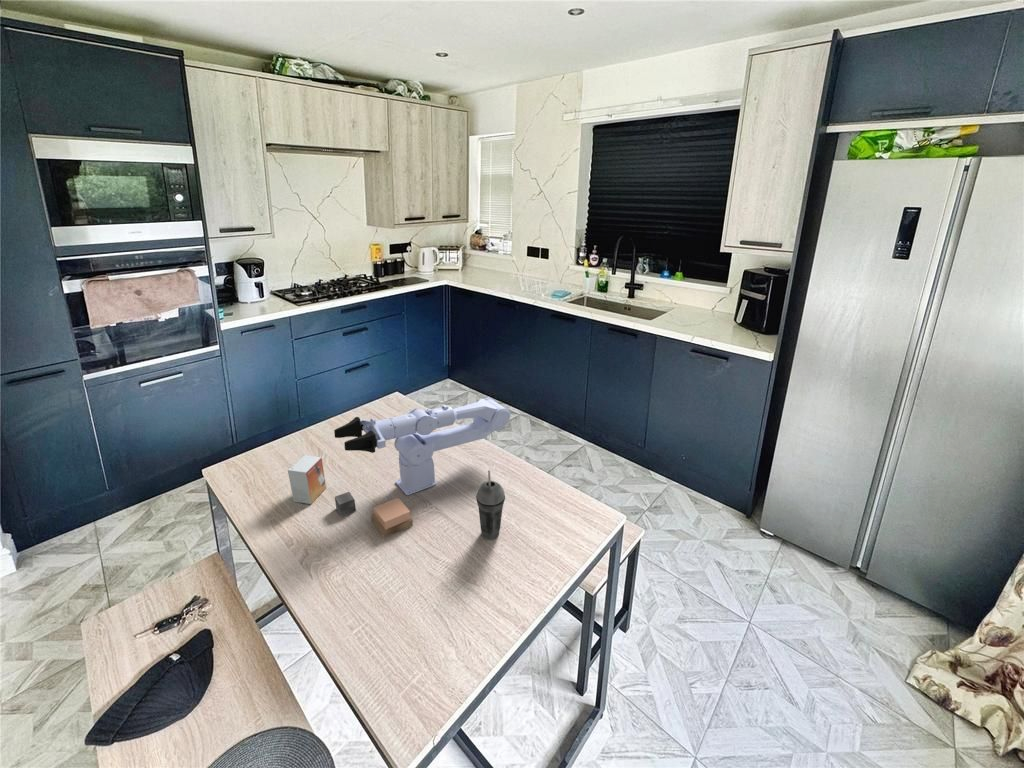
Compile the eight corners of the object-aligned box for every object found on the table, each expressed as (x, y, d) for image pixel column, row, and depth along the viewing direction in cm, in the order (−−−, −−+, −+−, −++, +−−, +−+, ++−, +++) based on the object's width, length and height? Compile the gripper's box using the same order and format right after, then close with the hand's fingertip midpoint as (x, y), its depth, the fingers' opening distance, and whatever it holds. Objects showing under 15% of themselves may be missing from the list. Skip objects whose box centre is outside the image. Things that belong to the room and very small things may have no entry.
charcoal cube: (350, 503, 137) (349, 491, 135) (356, 511, 134) (354, 499, 132) (336, 508, 135) (334, 496, 133) (341, 516, 132) (339, 504, 130)
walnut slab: (399, 511, 135) (399, 503, 134) (412, 527, 130) (412, 519, 129) (371, 522, 131) (370, 514, 130) (383, 539, 125) (383, 531, 124)
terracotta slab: (398, 505, 134) (398, 497, 133) (410, 519, 129) (410, 511, 128) (374, 515, 130) (373, 507, 129) (385, 530, 125) (384, 522, 124)
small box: (311, 505, 136) (305, 473, 131) (293, 502, 137) (286, 470, 132) (327, 487, 143) (322, 456, 139) (309, 485, 144) (304, 454, 140)
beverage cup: (508, 528, 129) (510, 463, 121) (498, 546, 123) (499, 480, 115) (482, 521, 131) (482, 457, 123) (471, 539, 125) (470, 473, 117)
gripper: (379, 405, 138) (329, 414, 130) (401, 426, 127) (349, 437, 119) (379, 428, 140) (331, 438, 132) (401, 450, 129) (350, 463, 122)
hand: (339, 440), depth 126 cm, fingers open, 7 cm apart
